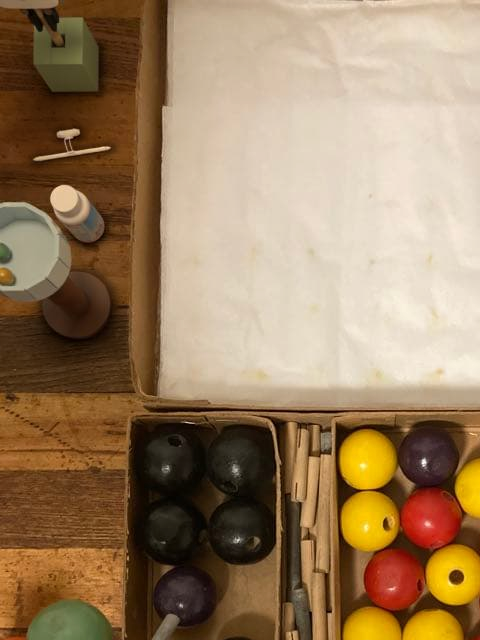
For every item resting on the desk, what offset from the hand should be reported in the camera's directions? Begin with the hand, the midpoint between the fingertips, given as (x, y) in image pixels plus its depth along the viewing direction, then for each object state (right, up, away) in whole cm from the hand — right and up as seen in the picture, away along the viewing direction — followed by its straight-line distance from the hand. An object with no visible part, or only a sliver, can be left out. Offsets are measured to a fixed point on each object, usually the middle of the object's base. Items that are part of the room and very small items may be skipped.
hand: (47, 23), depth 141 cm
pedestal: (+1, -45, +10) cm, 46 cm away
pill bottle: (+3, -30, +11) cm, 32 cm away
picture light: (-1, -15, +12) cm, 19 cm away
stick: (0, -1, +10) cm, 11 cm away
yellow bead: (-1, -47, -14) cm, 49 cm away
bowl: (+2, -43, -11) cm, 45 cm away
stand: (0, -1, +12) cm, 12 cm away
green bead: (-1, -43, -13) cm, 45 cm away
